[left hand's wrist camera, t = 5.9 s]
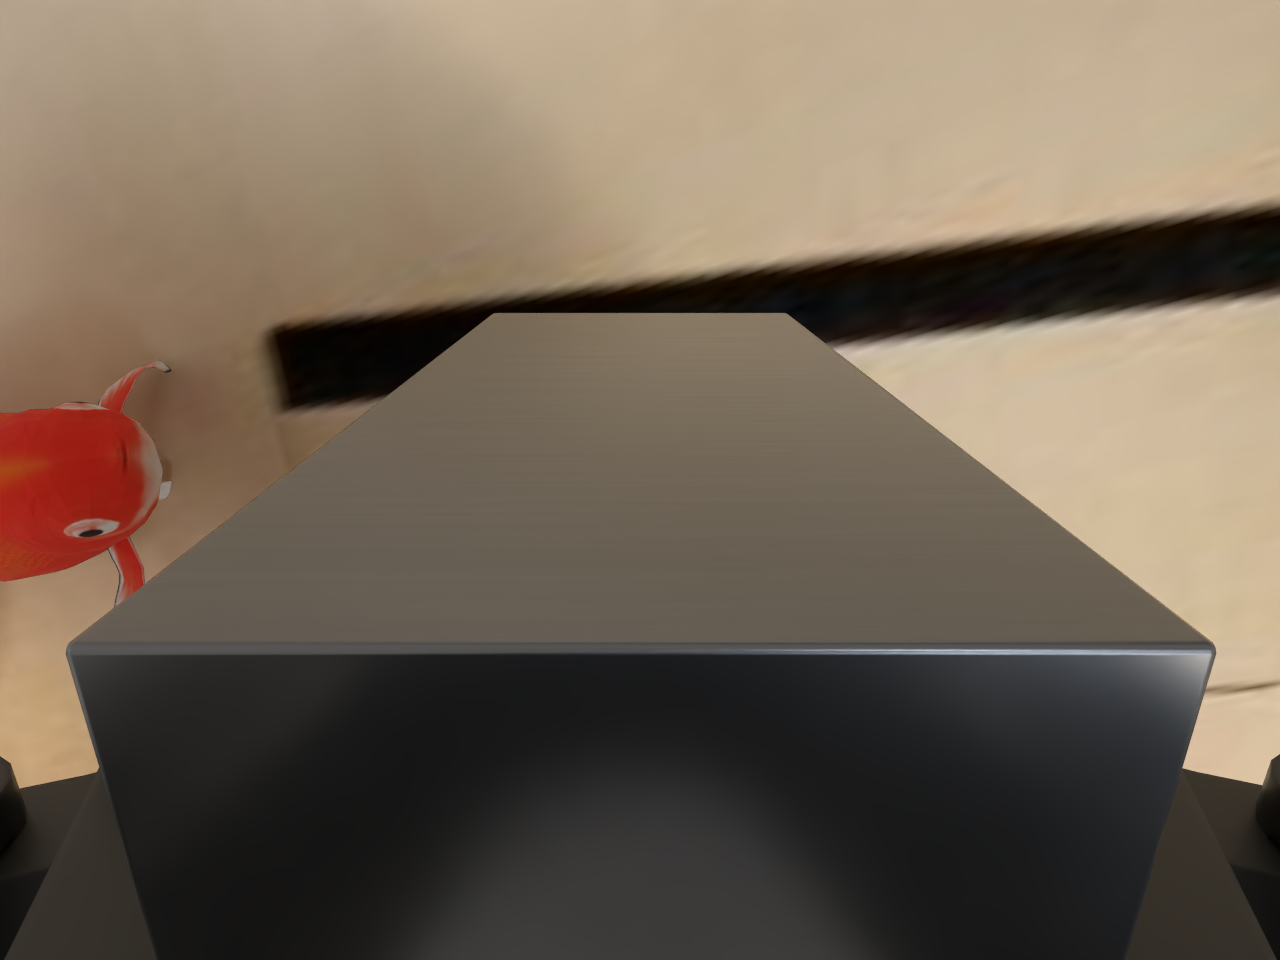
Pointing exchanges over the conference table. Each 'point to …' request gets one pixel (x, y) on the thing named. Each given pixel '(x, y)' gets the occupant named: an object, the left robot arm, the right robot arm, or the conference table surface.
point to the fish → (77, 486)
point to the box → (640, 678)
